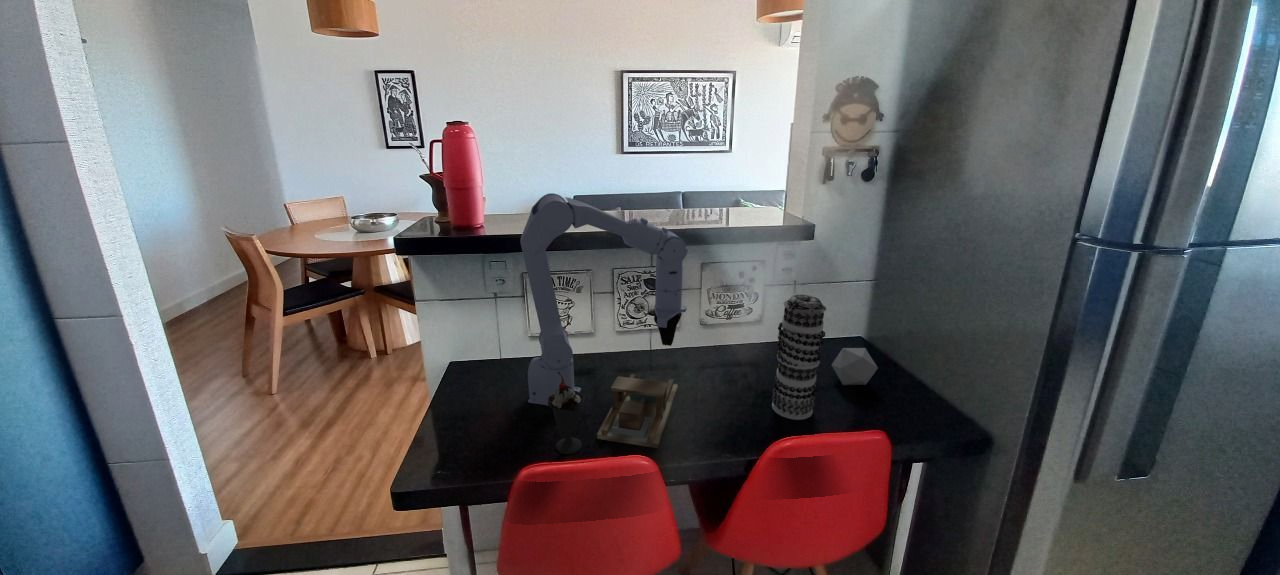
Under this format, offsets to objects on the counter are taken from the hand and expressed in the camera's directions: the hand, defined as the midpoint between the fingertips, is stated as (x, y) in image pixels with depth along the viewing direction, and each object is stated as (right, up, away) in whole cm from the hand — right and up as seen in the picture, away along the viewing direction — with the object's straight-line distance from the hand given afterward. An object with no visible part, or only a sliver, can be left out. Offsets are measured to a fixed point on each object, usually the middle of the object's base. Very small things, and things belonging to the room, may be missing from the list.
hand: (667, 344), depth 114 cm
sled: (-7, -13, -11) cm, 19 cm away
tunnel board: (-6, -13, -8) cm, 17 cm away
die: (+43, -9, +4) cm, 45 cm away
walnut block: (-8, -14, -15) cm, 22 cm away
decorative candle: (+26, -13, -7) cm, 30 cm away
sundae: (-20, -17, -19) cm, 32 cm away
